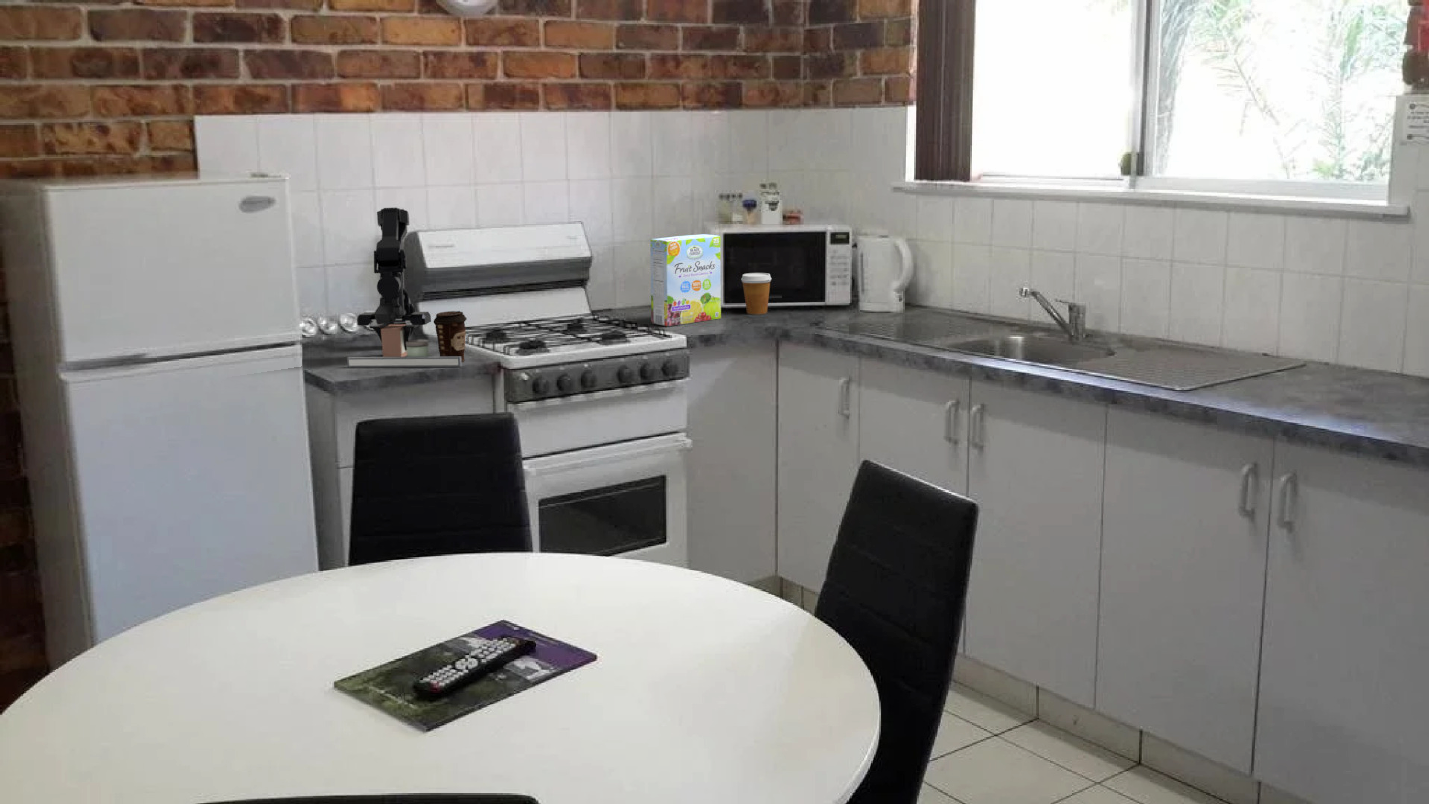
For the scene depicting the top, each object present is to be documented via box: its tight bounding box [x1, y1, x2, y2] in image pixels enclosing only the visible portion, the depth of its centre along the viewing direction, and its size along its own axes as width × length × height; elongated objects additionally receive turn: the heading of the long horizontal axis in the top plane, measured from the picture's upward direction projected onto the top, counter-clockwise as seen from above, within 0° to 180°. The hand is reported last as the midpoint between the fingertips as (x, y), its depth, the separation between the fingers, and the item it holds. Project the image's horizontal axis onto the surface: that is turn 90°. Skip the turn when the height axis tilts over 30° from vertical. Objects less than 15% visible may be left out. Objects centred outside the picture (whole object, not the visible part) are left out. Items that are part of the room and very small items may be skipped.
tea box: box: [381, 324, 407, 357], centre depth 363 cm, size 5×7×8 cm
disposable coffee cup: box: [740, 272, 772, 315], centre depth 422 cm, size 10×10×12 cm
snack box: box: [650, 233, 722, 327], centre depth 407 cm, size 22×9×26 cm, turn 131°
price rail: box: [346, 356, 463, 368], centre depth 349 cm, size 2×30×2 cm, turn 84°
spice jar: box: [406, 339, 430, 357], centre depth 352 cm, size 6×6×6 cm
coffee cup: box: [433, 310, 468, 363], centre depth 353 cm, size 9×8×13 cm
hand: (396, 350), depth 364 cm, fingers closed on tea box, 5 cm apart
